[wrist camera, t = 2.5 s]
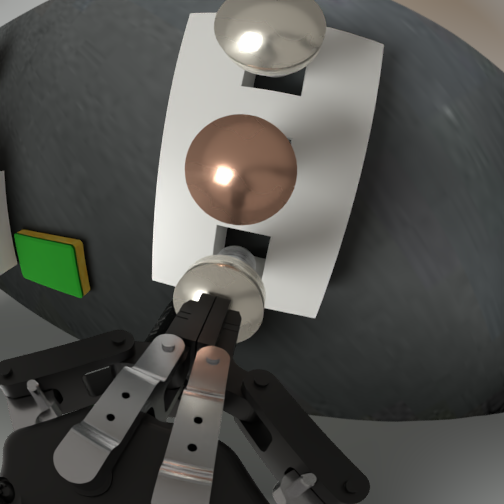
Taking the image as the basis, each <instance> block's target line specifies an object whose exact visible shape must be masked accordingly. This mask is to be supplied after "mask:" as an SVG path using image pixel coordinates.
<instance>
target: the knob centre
mask: <svg viewBox="0 0 504 504" xmlns="http://www.w3.org/2000/svg"><path fill="white" fill-rule="evenodd" d="M185 179H186V183H187V187H188V190H189V192H190V194H191V196H192V198H193V199H194V201H195V202H196V203H197V205H198V206H199V207H200V208H201V209H202V210H203V211H204V212H205V213H207V214H208V215H209V216H211V217H213V218H214V219H216V220H218V221H221V222H224V223H227V224H232V225H252V224H256V223H259V222H262V221H265V220H267V219H268V218H270V217H272V216H273V215H275V214H276V213H277V212H278V211H280V210H281V209H282V208H283V207H284V205H285V204H286V203H287V201H288V200H289V198H290V197H291V195H292V192H293V190H294V187H295V184H296V179H297V161H296V157H295V153H294V150H293V148H292V146H291V144H290V142H289V140H288V139H287V137H286V136H285V135H284V134H283V133H282V132H281V131H280V130H279V129H278V128H277V127H276V126H275V125H273V124H272V123H270V122H268V121H267V120H265V119H262V118H260V117H257V116H252V115H246V114H234V115H229V116H225V117H222V118H219V119H217V120H215V121H213V122H211V123H210V124H208V125H207V126H205V127H204V128H203V129H202V130H201V131H200V132H199V133H198V134H197V135H196V137H195V138H194V140H193V141H192V143H191V145H190V147H189V149H188V152H187V155H186V160H185Z"/></svg>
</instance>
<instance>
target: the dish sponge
mask: <svg viewBox="0 0 504 504" xmlns="http://www.w3.org/2000/svg"><path fill="white" fill-rule="evenodd" d="M14 238H15V243H16V248H17V253H18V258H19V262H20V266H21V270H22V274H23V276H24V278H26V279H29V280H31V281H34V282H37V283H39V284H42V285H44V286H47V287H50V288H53V289H55V290H58V291H61V292H64V293H67V294H70V295H73V296H76V297H79V298H82V297H83V296H84V295H85V294H86V293H87V292H89V290H90V285H89V280H88V274H87V269H86V263H85V256H84V249H83V243H82V242H81V240H77V239H72V238H66V237H61V236H56V235H50V234H45V233H40V232H35V231H29V230H24V229H23V230H21V231H19V232H18V233H15V234H14Z"/></svg>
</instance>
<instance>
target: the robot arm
mask: <svg viewBox="0 0 504 504" xmlns="http://www.w3.org/2000/svg"><path fill="white" fill-rule="evenodd" d="M231 301H232V300H231V299H227V298H223V297H219V296H214V295H210V294H206V293H202V294H201V296H200V298H199V300H198V301H194V300H189V301H187V302H186V303H184V304H183V305H182V307H181V308H180V310H179V312H178V313H177V315H176V317H175V318H174V320H173V321H172V323H171V325H170V326H169V328H168V330H167V331H166V333H165V334H162V335H159V336H157V337H156V338H155V339H154V340H153V341H152V342H138V341H134V337H133V336H132V334H130V333H129V332H127V331H124V330H114V331H110V332H107V333H103V334H100V335H96V336H93V337H90V338H86V339H83V340H79V341H76V342H72V343H69V344H65V345H61V346H57V347H54V348H50V349H47V350H43V351H39V352H35V353H31V354H28V355H23V356H19V357H15V358H11V359H7V360H3V361H1V362H0V388H1V389H2V391H3V393H4V395H5V396H6V398H7V404H8V409H9V413H10V418H11V422H12V426H13V429H14V432H12V433H11V434H10V435H9V436H8V438H7V439H6V441H5V444H4V447H3V464H2V469H1V473H0V504H269V502H268V501H267V500H266V498H265V497H264V495H263V494H262V493H261V491H260V490H259V488H258V487H257V485H256V484H255V482H254V481H253V479H252V478H251V476H250V475H249V473H248V471H247V470H246V468H245V467H244V465H243V464H242V462H241V461H240V459H239V458H238V456H237V455H236V454H235V452H234V451H233V450H232V449H231V448H229V447H228V446H227V445H226V444H224V443H223V442H221V441H220V440H218V438H219V431H220V425H221V418H222V412H223V411H225V412H227V413H229V414H231V415H233V416H234V420H235V422H236V423H237V424H238V426H239V428H240V429H241V431H242V432H243V434H244V435H245V437H246V438H247V440H248V441H249V443H250V444H251V445H252V447H253V448H254V450H255V451H256V452H257V454H258V455H259V457H260V458H261V459H262V461H263V462H264V463H265V465H266V466H267V467H268V469H269V470H270V471H271V473H272V474H273V475H274V476H275V478H276V479H277V480H278V483H277V484H276V485H275V486H274V488H273V497H274V499H275V501H276V503H277V504H357V503H358V502H360V501H362V500H363V499H364V498H366V496H367V495H368V493H369V490H370V484H369V480H368V479H367V477H366V476H365V475H364V474H363V473H362V472H361V471H360V470H359V469H358V468H357V467H356V466H355V465H354V464H353V463H352V462H351V461H350V460H349V459H348V458H347V457H346V456H345V455H344V454H343V453H342V452H341V450H340V449H338V447H337V446H336V445H335V444H334V443H333V442H332V441H331V440H330V439H329V438H328V437H327V436H326V434H325V433H324V432H322V430H321V429H320V428H319V427H318V426H317V425H316V423H315V422H314V421H313V420H312V419H311V418H310V417H309V416H308V414H307V413H306V412H305V411H304V410H303V409H302V408H301V406H300V405H299V404H298V403H297V402H296V401H295V399H294V398H293V397H292V396H291V395H290V394H289V392H288V391H287V390H286V389H285V388H284V387H283V385H282V384H281V383H280V382H279V381H278V379H277V378H276V377H275V376H274V375H273V374H272V373H270V372H268V371H265V370H260V369H257V370H252V371H249V372H247V371H245V370H243V369H242V368H240V367H239V366H238V365H237V364H236V363H235V362H234V360H233V355H234V351H235V347H236V343H237V339H238V334H239V330H240V325H241V320H242V318H241V315H240V312H239V311H235V310H230V307H231ZM107 366H109V368H106V369H103V370H100V371H97V372H94V373H91V374H88V375H85V374H86V373H88V372H91V371H94V370H97V369H101V368H104V367H107ZM187 375H189V376H190V378H189V382H188V385H187V388H185V389H184V391H183V394H182V397H181V400H180V404H179V407H178V411H177V414H176V418H175V421H174V423H168V422H167V418H168V416H169V414H170V412H171V410H172V408H173V406H174V404H175V402H176V400H177V399H178V397H179V395H180V393H181V391H182V389H183V386H184V382H185V379H186V377H187ZM78 409H79V410H78ZM75 410H76V411H75ZM72 411H73V412H72ZM69 412H71V413H69ZM65 413H68V414H65ZM62 414H65V415H62Z"/></svg>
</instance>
